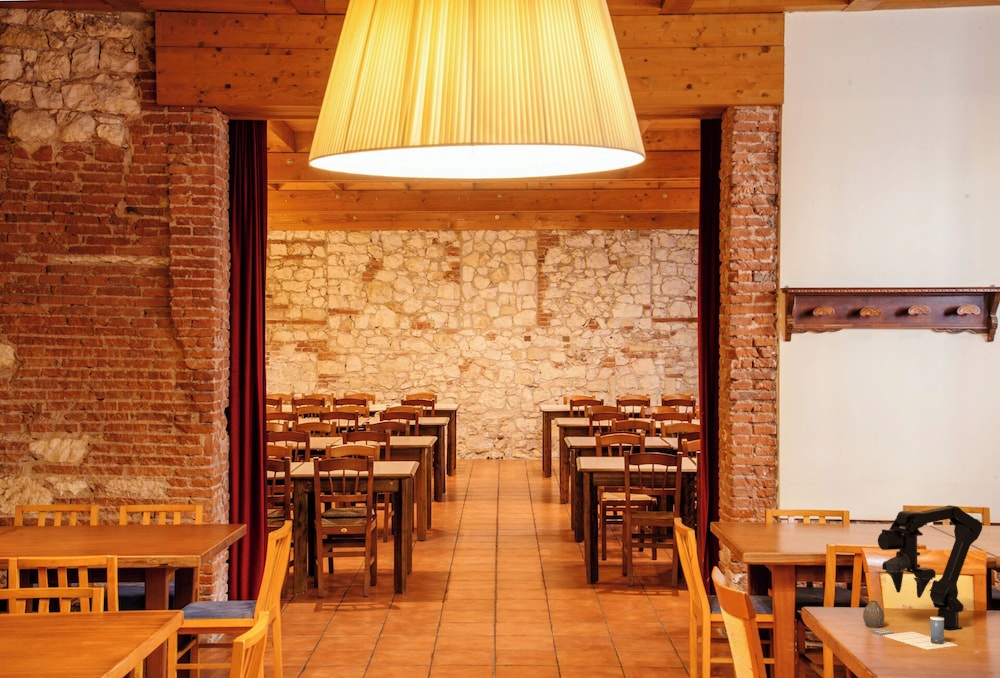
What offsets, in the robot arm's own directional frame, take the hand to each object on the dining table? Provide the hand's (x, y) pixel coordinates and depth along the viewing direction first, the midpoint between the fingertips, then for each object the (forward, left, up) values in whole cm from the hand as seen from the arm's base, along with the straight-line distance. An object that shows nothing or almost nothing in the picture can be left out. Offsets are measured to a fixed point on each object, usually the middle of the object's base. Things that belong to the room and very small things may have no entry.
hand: (908, 595), depth 354 cm
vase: (+7, -9, -12) cm, 17 cm away
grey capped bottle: (+5, +17, -12) cm, 21 cm away
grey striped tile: (+11, -1, -12) cm, 16 cm away
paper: (+7, +12, -12) cm, 19 cm away
